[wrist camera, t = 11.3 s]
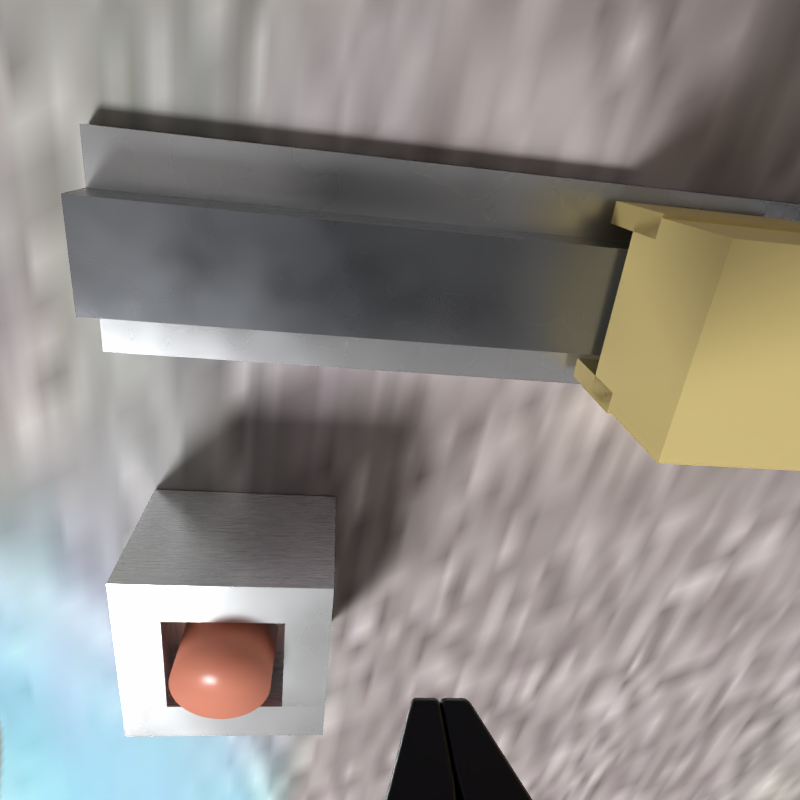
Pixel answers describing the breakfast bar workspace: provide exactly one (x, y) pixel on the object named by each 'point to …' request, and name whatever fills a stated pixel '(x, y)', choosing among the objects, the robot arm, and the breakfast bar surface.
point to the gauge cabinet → (225, 603)
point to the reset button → (223, 668)
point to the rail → (349, 256)
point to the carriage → (704, 338)
